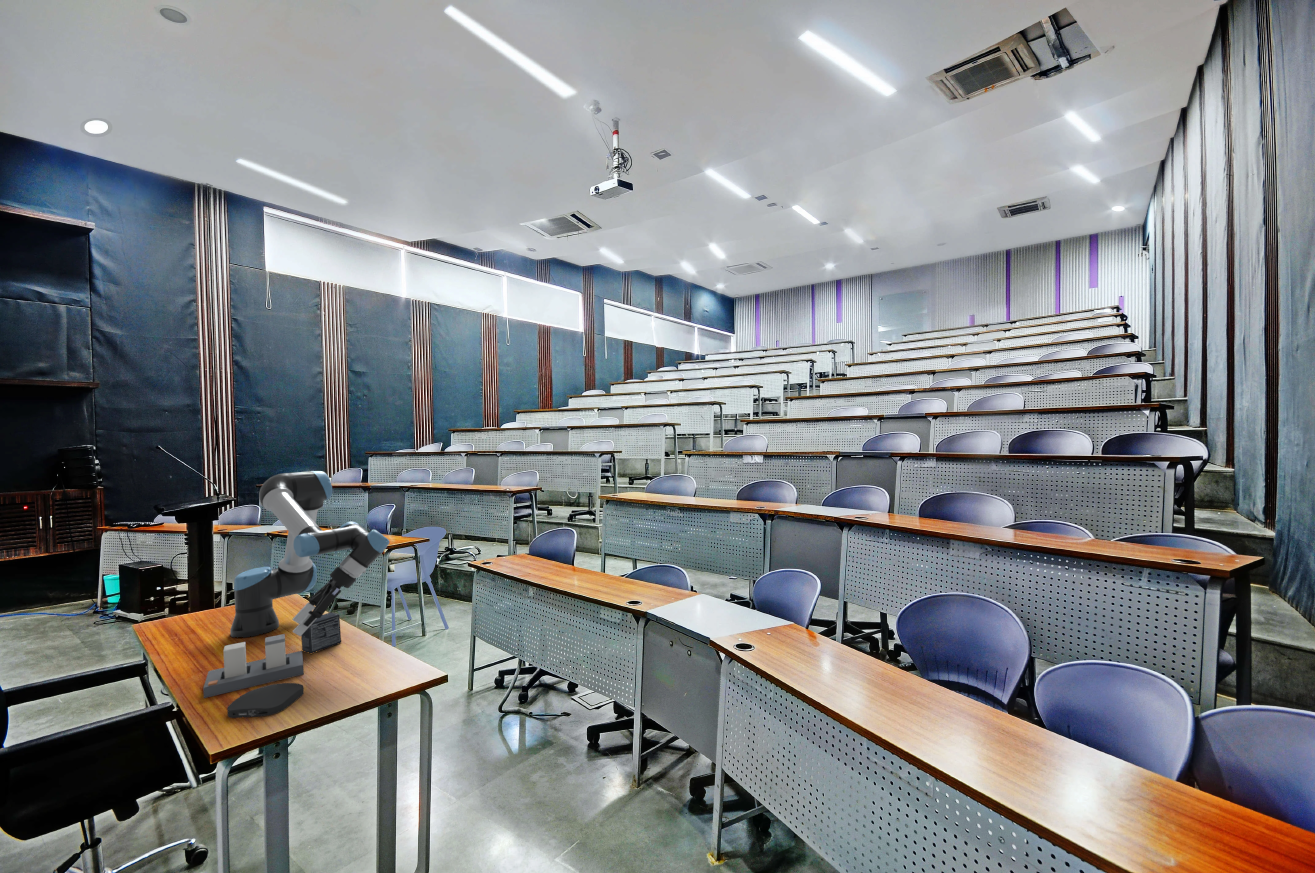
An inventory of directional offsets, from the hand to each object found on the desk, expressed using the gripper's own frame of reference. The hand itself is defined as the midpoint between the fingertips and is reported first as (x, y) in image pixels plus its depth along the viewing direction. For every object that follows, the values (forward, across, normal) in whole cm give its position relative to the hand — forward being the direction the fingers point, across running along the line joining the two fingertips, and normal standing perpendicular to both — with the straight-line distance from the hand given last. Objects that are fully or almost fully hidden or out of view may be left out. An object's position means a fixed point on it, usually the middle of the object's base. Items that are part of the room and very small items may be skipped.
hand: (296, 627), depth 174 cm
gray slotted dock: (+17, +1, -2) cm, 17 cm away
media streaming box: (+15, -22, -4) cm, 27 cm away
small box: (+4, +17, -15) cm, 23 cm away
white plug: (+13, +1, -5) cm, 14 cm away
